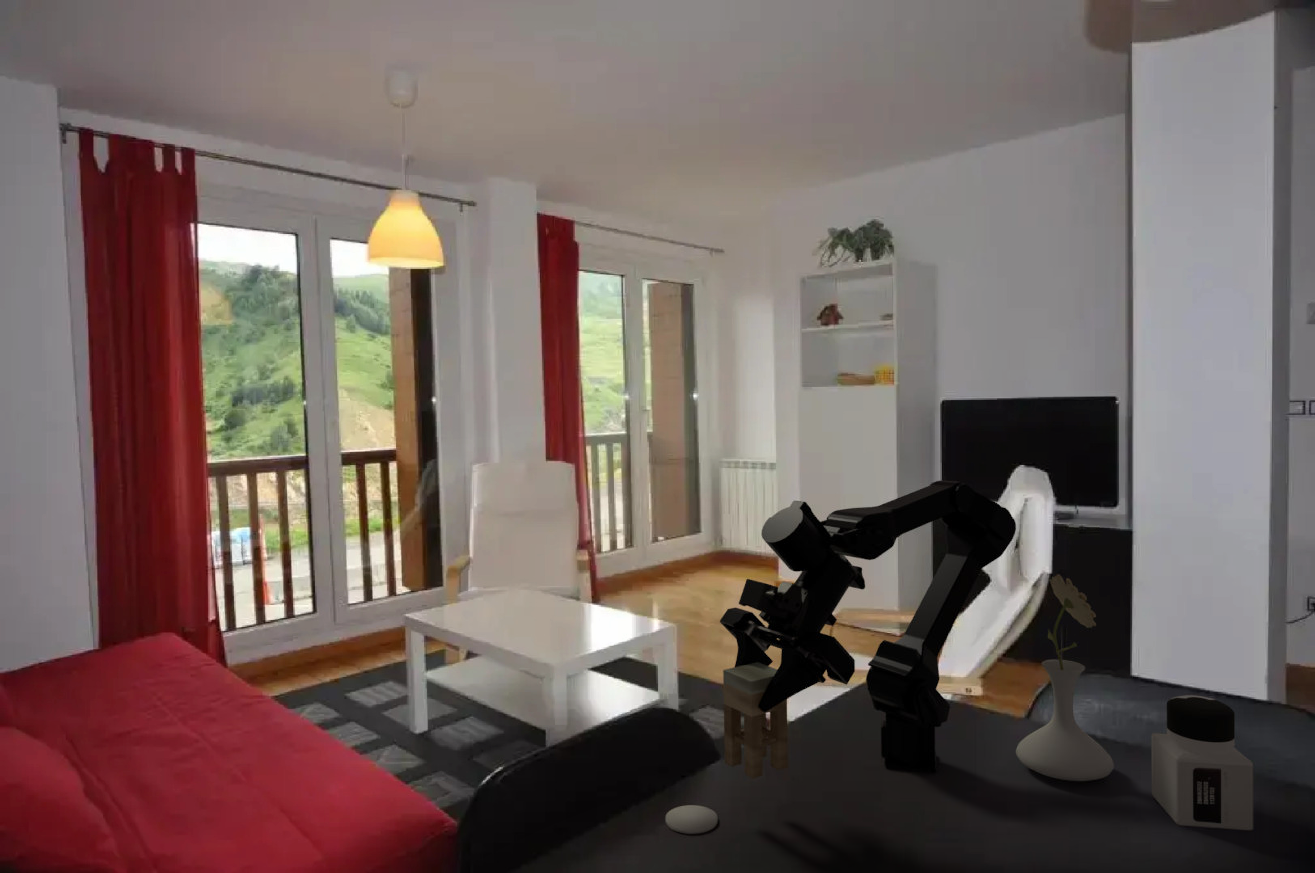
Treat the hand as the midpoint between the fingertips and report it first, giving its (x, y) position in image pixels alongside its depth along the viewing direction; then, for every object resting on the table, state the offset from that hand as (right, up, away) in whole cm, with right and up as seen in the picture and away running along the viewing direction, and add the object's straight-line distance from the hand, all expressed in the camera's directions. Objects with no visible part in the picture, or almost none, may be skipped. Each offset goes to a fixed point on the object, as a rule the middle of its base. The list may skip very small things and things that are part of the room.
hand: (745, 702), depth 96 cm
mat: (-6, -14, 0) cm, 15 cm away
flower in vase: (+43, -13, +12) cm, 46 cm away
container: (+52, -13, 0) cm, 54 cm away
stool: (+1, -8, +1) cm, 8 cm away
